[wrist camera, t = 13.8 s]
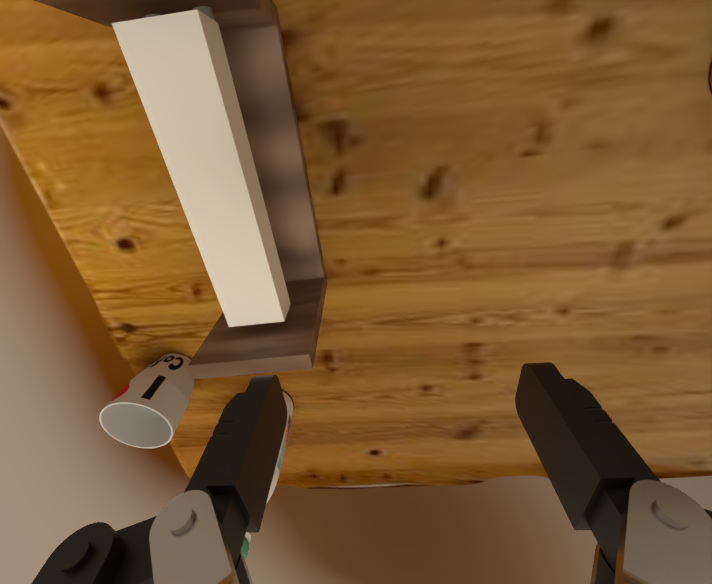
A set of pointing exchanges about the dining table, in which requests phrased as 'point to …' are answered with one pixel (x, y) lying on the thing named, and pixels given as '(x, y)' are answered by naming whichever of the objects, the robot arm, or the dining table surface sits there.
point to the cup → (150, 403)
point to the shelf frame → (275, 173)
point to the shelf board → (208, 158)
